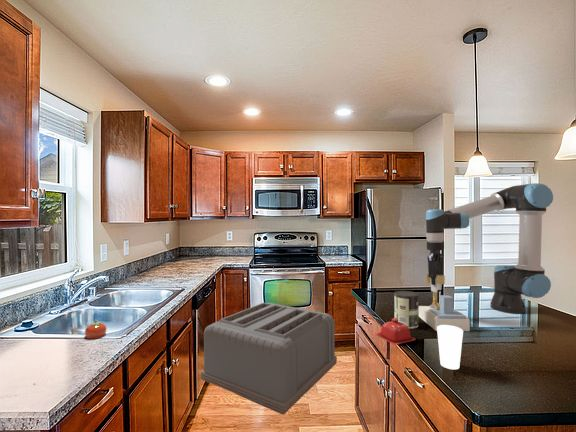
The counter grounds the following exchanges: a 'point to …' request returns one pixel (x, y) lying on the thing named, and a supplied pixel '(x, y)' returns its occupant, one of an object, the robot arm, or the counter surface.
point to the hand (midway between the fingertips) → (436, 290)
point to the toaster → (269, 353)
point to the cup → (450, 345)
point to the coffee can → (406, 308)
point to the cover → (447, 309)
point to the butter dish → (395, 332)
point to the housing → (435, 321)
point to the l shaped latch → (439, 281)
